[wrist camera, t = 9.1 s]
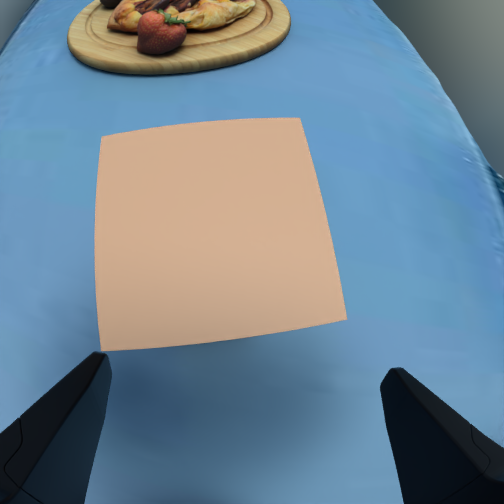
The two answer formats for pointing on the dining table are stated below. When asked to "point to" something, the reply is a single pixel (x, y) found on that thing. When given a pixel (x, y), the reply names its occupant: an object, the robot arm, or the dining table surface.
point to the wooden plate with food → (175, 34)
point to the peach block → (211, 235)
